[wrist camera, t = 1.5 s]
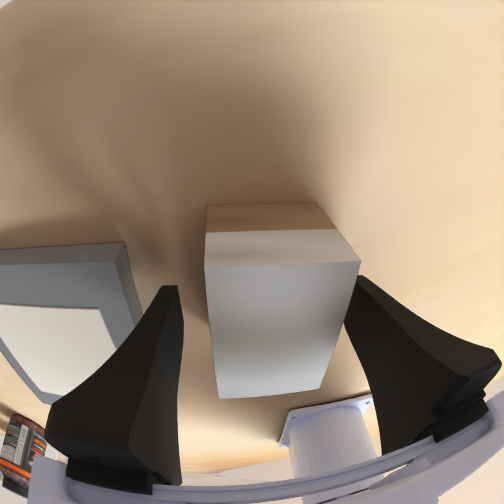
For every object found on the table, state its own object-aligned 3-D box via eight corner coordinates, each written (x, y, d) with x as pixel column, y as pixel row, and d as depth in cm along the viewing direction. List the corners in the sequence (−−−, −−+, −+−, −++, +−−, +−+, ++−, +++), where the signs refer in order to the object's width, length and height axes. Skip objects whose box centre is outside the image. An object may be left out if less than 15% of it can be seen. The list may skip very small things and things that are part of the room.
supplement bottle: (56, 438, 25) (46, 507, 15) (25, 428, 24) (13, 492, 14) (35, 419, 22) (20, 496, 12) (4, 408, 21) (-14, 478, 11)
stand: (174, 403, 19) (173, 421, 18) (47, 389, 18) (42, 404, 16) (124, 242, 12) (114, 263, 10) (-35, 252, 10) (-49, 267, 9)
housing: (297, 321, 15) (319, 388, 12) (215, 326, 15) (219, 399, 11) (316, 201, 12) (361, 260, 8) (207, 203, 11) (204, 268, 8)
